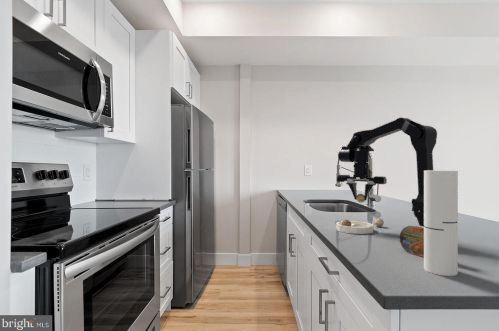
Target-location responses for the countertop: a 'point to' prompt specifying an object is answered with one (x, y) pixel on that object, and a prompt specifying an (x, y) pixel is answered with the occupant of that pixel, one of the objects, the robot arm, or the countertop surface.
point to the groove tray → (355, 227)
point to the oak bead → (360, 198)
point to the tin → (413, 240)
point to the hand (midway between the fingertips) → (360, 200)
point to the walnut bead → (346, 223)
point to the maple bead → (379, 222)
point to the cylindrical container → (441, 222)
